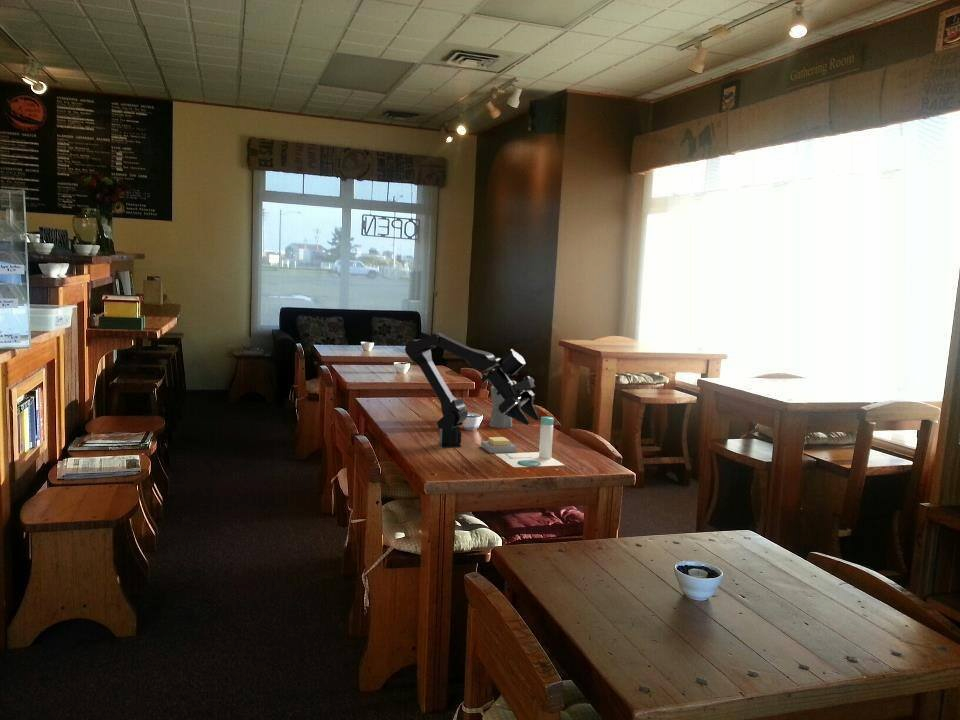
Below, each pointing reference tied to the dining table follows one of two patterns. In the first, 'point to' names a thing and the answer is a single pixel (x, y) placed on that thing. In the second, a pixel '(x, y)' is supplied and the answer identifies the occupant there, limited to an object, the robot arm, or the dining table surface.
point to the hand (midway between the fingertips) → (533, 421)
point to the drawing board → (527, 460)
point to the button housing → (498, 448)
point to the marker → (546, 437)
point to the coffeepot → (498, 412)
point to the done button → (498, 441)
